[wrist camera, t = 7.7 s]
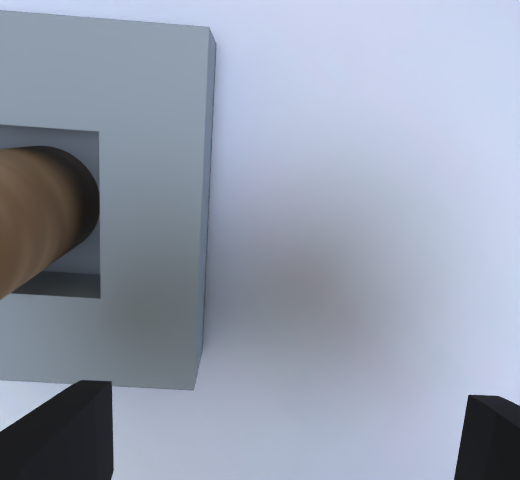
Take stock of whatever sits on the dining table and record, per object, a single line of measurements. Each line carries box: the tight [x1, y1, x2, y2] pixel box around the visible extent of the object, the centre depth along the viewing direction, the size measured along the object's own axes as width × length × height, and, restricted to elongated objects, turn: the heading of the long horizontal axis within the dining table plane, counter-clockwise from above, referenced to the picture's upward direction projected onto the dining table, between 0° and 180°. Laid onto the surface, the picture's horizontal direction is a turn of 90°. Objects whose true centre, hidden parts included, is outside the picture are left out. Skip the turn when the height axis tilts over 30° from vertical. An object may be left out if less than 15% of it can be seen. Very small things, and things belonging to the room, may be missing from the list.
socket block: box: [0, 10, 216, 390], centre depth 17 cm, size 12×12×3 cm
